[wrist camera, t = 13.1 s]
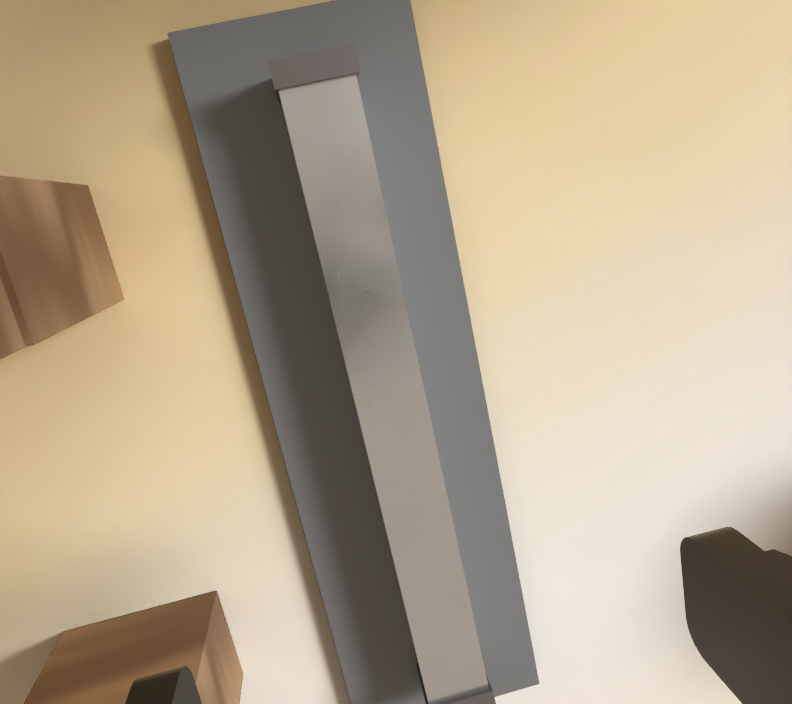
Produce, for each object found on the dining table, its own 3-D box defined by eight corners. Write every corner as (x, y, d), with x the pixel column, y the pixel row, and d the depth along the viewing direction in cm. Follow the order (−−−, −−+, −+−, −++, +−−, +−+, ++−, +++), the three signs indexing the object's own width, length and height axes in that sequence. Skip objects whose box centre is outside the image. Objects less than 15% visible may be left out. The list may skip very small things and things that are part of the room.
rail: (272, 78, 22) (267, 60, 19) (348, 62, 22) (353, 43, 19) (419, 680, 28) (431, 727, 25) (478, 662, 28) (496, 708, 25)
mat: (171, 37, 22) (167, 33, 21) (404, -8, 22) (407, -14, 22) (358, 725, 28) (359, 736, 28) (534, 674, 29) (539, 683, 28)
